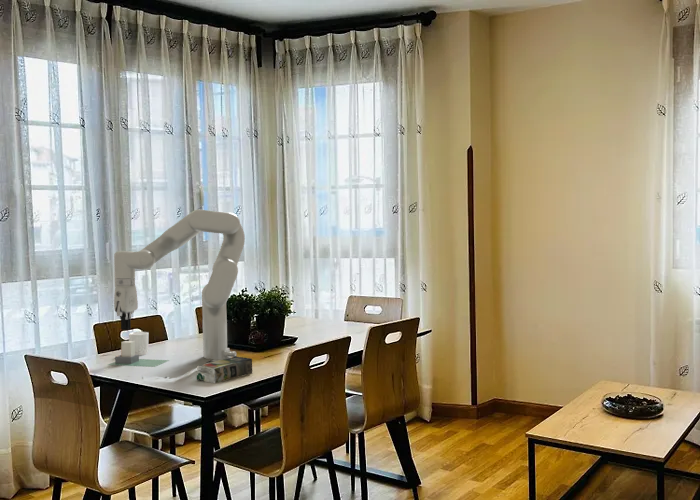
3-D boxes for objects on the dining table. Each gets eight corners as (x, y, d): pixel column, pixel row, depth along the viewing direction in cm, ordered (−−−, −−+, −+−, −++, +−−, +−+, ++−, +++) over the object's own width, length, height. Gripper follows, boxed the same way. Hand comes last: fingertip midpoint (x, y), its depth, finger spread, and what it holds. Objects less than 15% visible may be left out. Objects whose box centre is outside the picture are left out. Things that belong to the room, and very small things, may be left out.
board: (169, 364, 277) (169, 354, 276) (154, 370, 265) (154, 360, 265) (124, 362, 281) (123, 352, 281) (107, 368, 270) (107, 358, 269)
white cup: (143, 359, 286) (142, 335, 286) (125, 358, 288) (125, 334, 287) (152, 355, 294) (151, 332, 293) (135, 355, 295) (134, 331, 295)
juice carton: (213, 384, 243) (212, 367, 243) (193, 381, 249) (193, 364, 248) (253, 374, 259) (253, 357, 259) (234, 371, 265) (234, 355, 265)
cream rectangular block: (135, 361, 275) (134, 341, 275) (131, 363, 272) (130, 342, 272) (125, 361, 276) (125, 340, 276) (121, 362, 273) (120, 342, 273)
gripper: (123, 284, 264) (124, 332, 265) (143, 281, 279) (144, 326, 280) (105, 284, 266) (106, 332, 267) (126, 280, 281) (127, 326, 282)
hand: (125, 329), depth 273 cm, fingers closed
